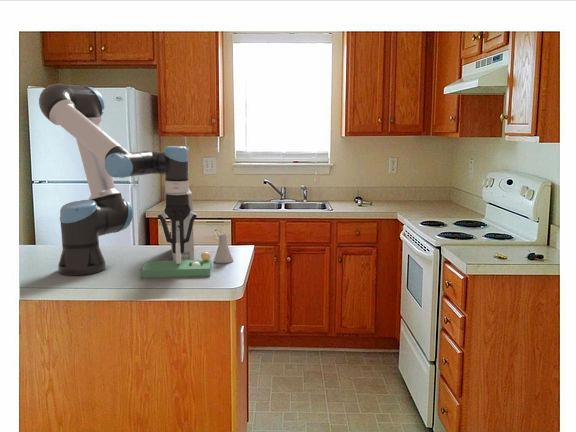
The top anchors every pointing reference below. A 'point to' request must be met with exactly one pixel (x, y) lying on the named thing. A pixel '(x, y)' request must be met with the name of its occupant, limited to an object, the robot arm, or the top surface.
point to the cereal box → (189, 245)
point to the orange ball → (205, 256)
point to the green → (176, 269)
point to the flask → (223, 251)
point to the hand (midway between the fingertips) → (178, 262)
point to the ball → (196, 264)
